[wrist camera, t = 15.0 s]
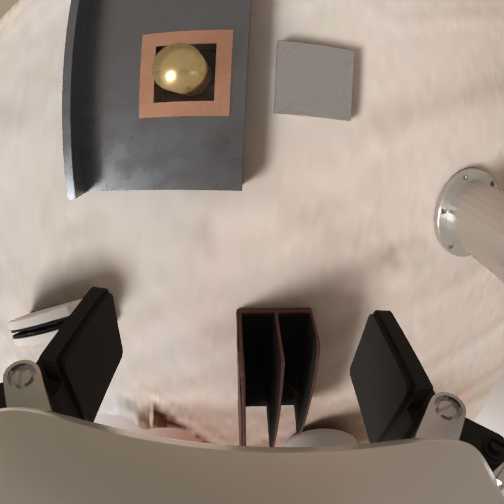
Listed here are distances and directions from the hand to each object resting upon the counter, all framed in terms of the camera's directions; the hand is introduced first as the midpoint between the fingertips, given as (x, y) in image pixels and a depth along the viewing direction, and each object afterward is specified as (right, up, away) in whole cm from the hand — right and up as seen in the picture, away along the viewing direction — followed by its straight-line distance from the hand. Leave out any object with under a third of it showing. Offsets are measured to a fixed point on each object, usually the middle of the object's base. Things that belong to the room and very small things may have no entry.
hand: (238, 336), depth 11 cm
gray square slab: (+7, +21, +19) cm, 29 cm away
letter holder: (+3, -13, +35) cm, 37 cm away
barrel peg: (-6, +22, +18) cm, 29 cm away
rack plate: (-9, +22, +18) cm, 30 cm away
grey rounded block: (-28, -6, +30) cm, 42 cm away
